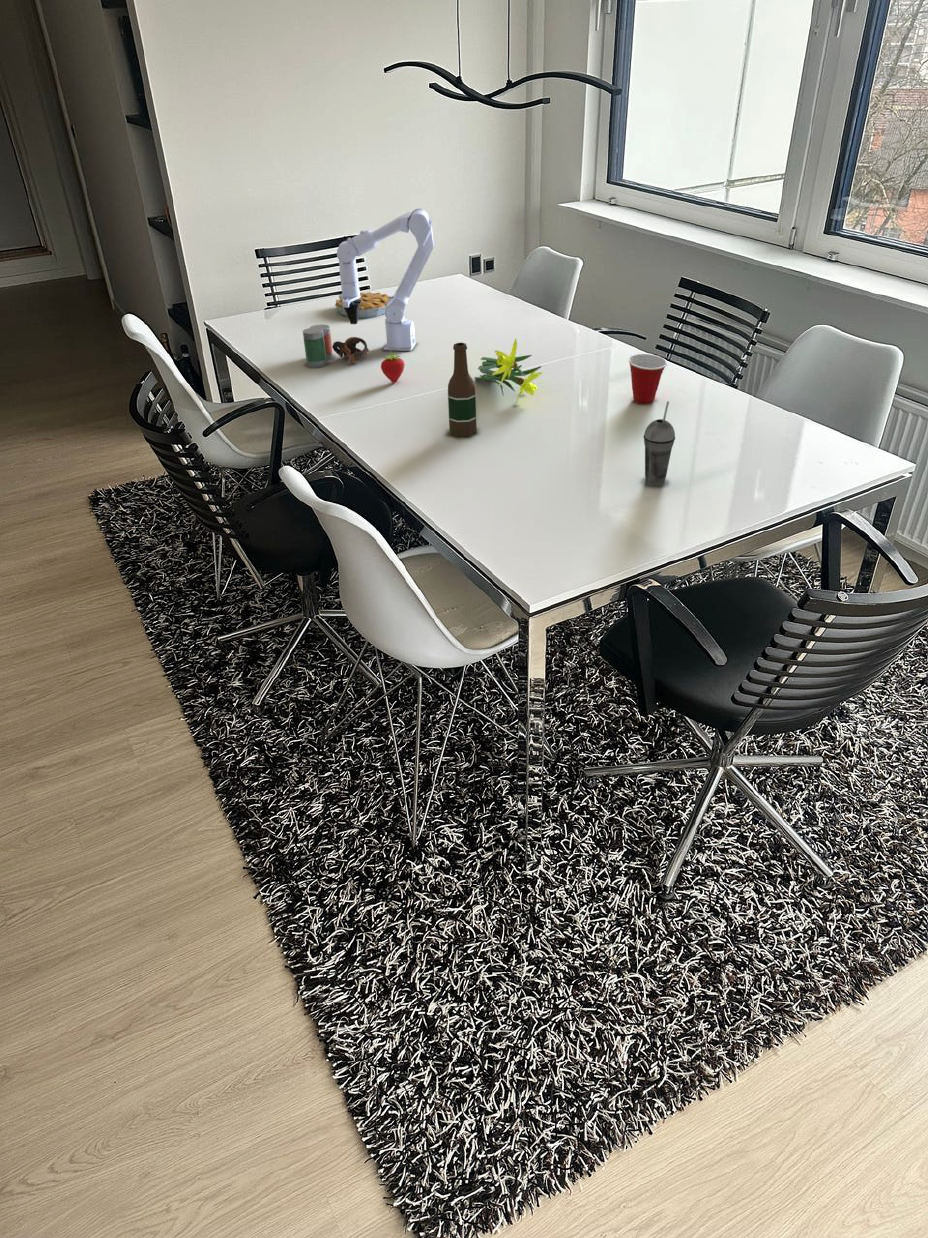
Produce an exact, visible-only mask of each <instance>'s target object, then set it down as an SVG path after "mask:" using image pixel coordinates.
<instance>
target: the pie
mask: <svg viewBox="0 0 928 1238" xmlns="http://www.w3.org/2000/svg"><path fill="white" fill-rule="evenodd" d="M391 297H392V295H388V294H386V293H384V294H382V293H381V292H375V293H373V292H360V298H359V299H357V300H361V304H360V308H359V313H358V319H368V318H375V317H379V316H383V315H385V309H386V304H387V301H388V300H389V299H390V298H391ZM342 301H343V300H342V298H337V299H336V300H335V304H334V306H335V307H336V308H337V310H338V312H339V314H341V315H342V316H344V317H348V315H347V313H346V311H345V309H344V308H343V306H342Z"/></svg>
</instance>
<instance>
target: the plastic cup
mask: <svg viewBox="0 0 928 1238" xmlns="http://www.w3.org/2000/svg"><path fill="white" fill-rule="evenodd" d="M628 363H629V368H630V376H631V377H630V378H631V390H632V399H633V402H634V403H636V404H640V405H650V404H652V403H653V402H654V401H655V399H656V396H657V391H658V389H659V385H660V382H661V378H662V375H663V372H664V370H665V368H666V366H667V365H668V361H667V360H666V358H664V357H662V356H659V355H657V354H653V353H651V354H650V353H637V354H633V355H631V356H629V357H628Z"/></svg>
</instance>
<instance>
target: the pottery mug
mask: <svg viewBox="0 0 928 1238" xmlns="http://www.w3.org/2000/svg"><path fill="white" fill-rule="evenodd" d="M360 343H361V344H362V345H363V347H364V348H363V349H359V347H357V345H358V344H360ZM332 351H333V352H335V353H336V354H337V355H339V357H340V358H341V359H342V358H343V357H344V358H346V357H348V364H350V365H354V363H355V362H359V361H360V360H363V359H365V358H366V357H367V355H368V353H369V352H370V350H369V347H368V344H367V342H366V340H364V339H363V338H361V337H358V336H351V337H348V338H346V339H345V341H344V342H342V341H340V340H338V341H334V342H333V344H332Z"/></svg>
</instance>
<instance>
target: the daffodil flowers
mask: <svg viewBox="0 0 928 1238" xmlns="http://www.w3.org/2000/svg"><path fill="white" fill-rule="evenodd" d="M517 341H518V340H517V337H515V338H514V342H513V344H512V348H511V351H510V354H509V355H508V354H506V352H503V351H501V350H494V353H495V355H496V356H497V358H494V357H487V356H483V357H481V358H480V360H481V361H482V362H481V365H479V366H478V368H477V370H479V372H480V373H481V374H479V377H478V376H474V379H475V380H476V381H492V382H494V383H496V384H497V385H498V387H500V390H501V395H502V396H504V395H505V387H504V386H503V384H504V385H505V386H508V388H509V389H511V390H512V391H513V392H516V390H515V388H514V386H513V384H511V383H510V382H509V381H511V382H512V383H515V384H516V385H518V386H520V388H519V394H518V397H517V402H516V404H515V406H516V407H517V406H518V402H519V401H518V400H519V398H520V397H522V396H523V394H524V392H525V393H527V394H529V395H531V396H534V395H535V392H536V390H537V389H538V387H539V386H538V385H536V384H534V383H531V382H532V381H534V380H535V379H536V378H538V377H540V376H541V375H542V374H543V373H544V372H543V371H542V372H537V371H538V370H539V369H541V368H542V367H543V366H541V365H539V366H537V367H533V368H530V369H527V370H521V368H522V366H523V364H520V365H518V363H519V362H522V361H524V360H526V359H529V358H530V357H532V356H533V355H532V354H526V355H521V356H516V355H517V349H518V342H517ZM492 369H497V370H496V371H495V370H492ZM527 375H528V377H526V376H527ZM523 376H524V377H526V378H522V377H523Z"/></svg>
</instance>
